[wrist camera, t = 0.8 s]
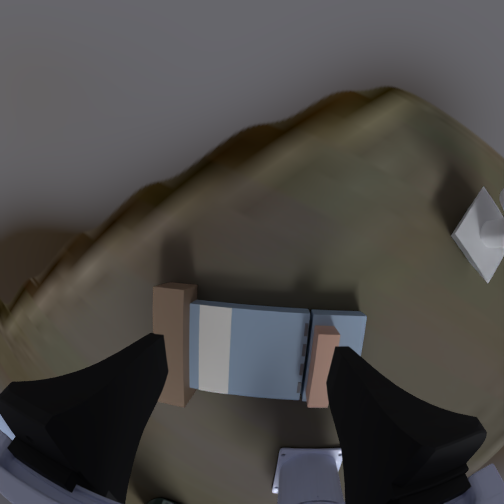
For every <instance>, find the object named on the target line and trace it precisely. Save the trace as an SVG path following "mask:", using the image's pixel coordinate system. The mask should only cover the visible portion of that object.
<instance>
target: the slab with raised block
mask: <svg viewBox="0 0 504 504" xmlns="http://www.w3.org/2000/svg"><path fill="white" fill-rule="evenodd" d="M366 319H367V316H366V315H365V314H363V313H362V312H361V311H338V310H315V309H311V317H310V326H309V335H308V344H307V352H306V360H305V367H304V374H303V381H302V388H301V395H302V401H307V407H308V408H328V404H329V401H328V395H327V386H326V381H327V377H328V373H329V369H330V366H331V362H332V357H333V353H334V349H335V346H349V347H350V348H352V349H353V350H354V351H355V352H356V353H357V354H358V355H360V356H361V351H362V345H363V339H364V333H365V326H366Z"/></svg>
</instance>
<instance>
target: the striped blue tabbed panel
mask: <svg viewBox="0 0 504 504" xmlns="http://www.w3.org/2000/svg"><path fill="white" fill-rule="evenodd" d="M197 287H198V285H194V284H184V283H175V282H169V283H165V284H161V285H157V286H153V333H154V334H161V335H164V341H165V349H166V357H167V364H168V371H169V372H168V375H167V379H166V382H165V385H164V388H163V391H162V393H161V395H160V397H159V399H158V402H162V403H166V404H170V405H175V406H179V407H184V408H185V406H186V405H187V403H188V402H189V400H190V399H191V397H192V396H193V394H194V393H195V391H196V389H199V390H203V391H209V392H215V393H222V394H233V395H241V396H250V397H260V398H272V399H287V400H299V397H300V391H301V384H302V377H303V370H304V362H305V355H306V347H307V338H308V329H309V320H310V312H309V310H308V309H304V308H287V307H273V306H259V305H247V304H236V303H225V302H215V301H206V300H197Z"/></svg>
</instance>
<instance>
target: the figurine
mask: <svg viewBox="0 0 504 504" xmlns="http://www.w3.org/2000/svg"><path fill="white" fill-rule="evenodd" d="M500 203H501V206H502V208H503V210H504V189H503V190H502V191H501V193H500ZM451 237H452V238H453V240H454V241H455V242H456V244H457V245H458V247H459V248H460V249H461V251H462V252H463V254H464V255H465V257H466V258H467V260H468V261H469V263H470V264H471V265H472V266H473V267H474V268H475V269H476V271H477V272H478V273H479V274H480V275H481V276H482V277H483V279H484V280H485V281H486V282H487V283H489V281H490V279H491V278H492V276H493V274H494V272H495V271H496V269H497V267H498V265H499V263H500V262H501V260H502V258H503V256H504V217H503V215H502V214H501V212H500V210H499V209H498V207H497V206H496V204H495V202H494V201H493V199H492V198H491V196H490V195H489V193H488V192H487V190H486V189H485V187H484V186H483V187H482V189H481V191H480V192H479V194H478V195H477V197H476V198H475V199H474V201H473V202H472V204H471V205H470V207H469V208H468V210H467V211H466V213H465V214H464V216H463V218H462V219H461V221H460V222H459V224H458V225H457V227H456V229H455V230H454V232H453V233H452V235H451Z"/></svg>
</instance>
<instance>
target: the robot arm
mask: <svg viewBox="0 0 504 504" xmlns="http://www.w3.org/2000/svg"><path fill="white" fill-rule="evenodd" d="M168 372H169V371H168V364H167V357H166V349H165V341H164V335H161V334H154V333H150V334H148V335H146V336H144V337H143V338H141V339H139V340H138V341H136V342H134V343H133V344H131V345H129V346H128V347H126V348H124V349H123V350H121V351H119V352H118V353H116V354H114V355H112V356H110V357H108V358H106V359H105V360H103V361H101V362H99V363H97V364H94V365H92V366H90V367H87V368H85V369H82V370H79V371H76V372H73V373H70V374H66V375H63V376H59V377H54V378H49V379H43V380H36V381H21V382H11V383H10V384H9V385H8V386H7V387H6V388H5V389H4V390H3V392H2V393H1V394H0V414H1V416H2V417H3V419H4V420H5V422H6V423H7V425H8V426H9V428H10V429H11V431H12V432H13V433H14V435H15V436H16V437H15V438H14V440H13V441H12V440H11V439H10V438H9V437H8V436H7V435H6V434H5V433H3V432H2V431H1V430H0V493H1V494H2V495H3V496H4V497H6V498H7V499H8V500H9V501H10V502H11V503H13V504H125V500H126V494H127V488H128V483H129V478H130V474H131V470H132V466H133V462H134V458H135V455H136V451H137V448H138V445H139V442H140V439H141V435H142V433H143V430H144V428H145V426H146V424H147V422H148V420H149V418H150V415H151V413H152V411H153V409H154V407H155V405H156V403H157V401H158V399H159V397H160V395H161V393H162V391H163V388H164V385H165V382H166V379H167V375H168ZM326 386H327V395H328V401H329V405H330V409H331V413H332V416H333V420H334V423H335V427H336V431H337V434H338V438H339V442H340V446H341V448H321V449H303V448H281V449H280V451H279V457H278V462H277V468H276V473H275V478H274V483H273V488H272V492H273V493H278V502H277V504H504V482H503V480H502V478H501V476H500V474H499V473H498V471H497V469H496V467H495V466H494V464H490V465H488V466H486V467H485V468H483V469H481V470H479V471H477V472H476V473H474V474H472V475H471V476H470V477H468V478H467V476H466V474H465V473H466V472H467V471H468V469H469V468H468V466H467V464H466V463H467V461H468V460H469V459H470V458H471V457H472V456H473V455H474V454H475V452H476V451H477V450H478V449H479V448H480V446H481V445H482V444H483V442H484V440H485V438H486V434H487V432H486V430H485V429H484V427H483V426H482V424H481V423H480V421H479V420H478V418H477V417H473V416H468V415H463V414H458V413H454V412H451V411H448V410H445V409H442V408H439V407H436V406H434V405H431V404H429V403H427V402H425V401H423V400H421V399H419V398H417V397H415V396H413V395H411V394H409V393H408V392H406V391H404V390H403V389H401V388H400V387H398V386H397V385H395V384H394V383H392V382H391V381H390V380H388V379H387V378H386V377H384V376H383V375H382V374H380V373H379V372H378V371H377V370H376V369H374V368H373V367H372V366H371V365H370V364H369V363H367V362H366V361H365V360H364V359H363V358H362V357H361V356H360V355H358V354H357V353H356V352H355V351H354V350H353V349H352V348H350V347H349V346H335V349H334V353H333V357H332V362H331V366H330V369H329V373H328V377H327V381H326ZM283 454H284V455H283ZM342 460H343V469H344V481H345V502H344V499H343V494H342V489H341V484H340V479H339V474H338V471H339V468H340V465H341V463H342Z"/></svg>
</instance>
